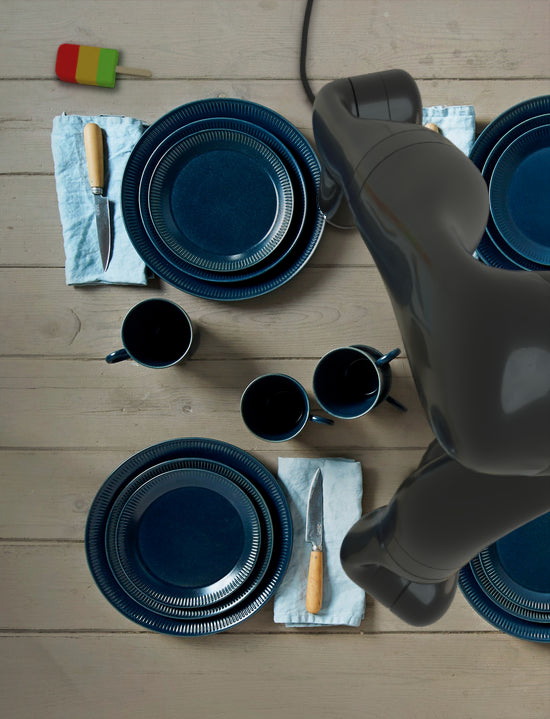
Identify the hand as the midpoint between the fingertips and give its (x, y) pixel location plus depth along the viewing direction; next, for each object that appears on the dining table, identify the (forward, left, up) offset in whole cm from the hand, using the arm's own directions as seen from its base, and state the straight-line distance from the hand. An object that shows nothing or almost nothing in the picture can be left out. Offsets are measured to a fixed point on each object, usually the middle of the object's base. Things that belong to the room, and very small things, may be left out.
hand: (504, 391), depth 74 cm
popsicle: (-53, -55, -13) cm, 77 cm away
